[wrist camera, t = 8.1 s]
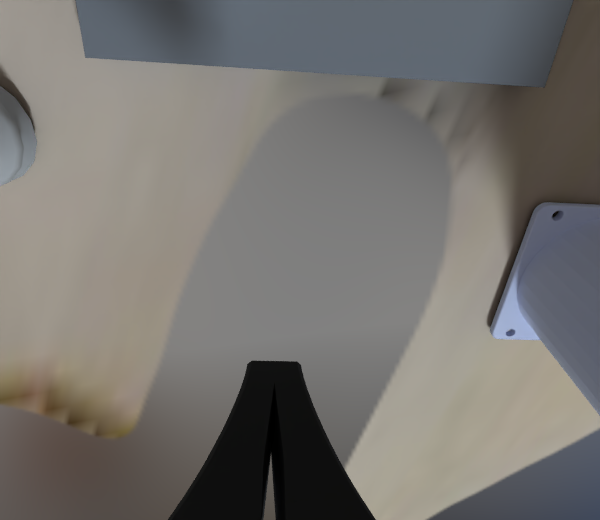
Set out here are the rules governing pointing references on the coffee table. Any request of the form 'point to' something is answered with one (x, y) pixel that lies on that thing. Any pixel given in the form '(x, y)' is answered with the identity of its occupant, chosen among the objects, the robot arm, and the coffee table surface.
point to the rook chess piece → (14, 139)
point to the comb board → (336, 36)
